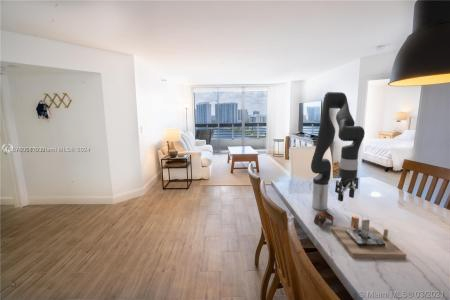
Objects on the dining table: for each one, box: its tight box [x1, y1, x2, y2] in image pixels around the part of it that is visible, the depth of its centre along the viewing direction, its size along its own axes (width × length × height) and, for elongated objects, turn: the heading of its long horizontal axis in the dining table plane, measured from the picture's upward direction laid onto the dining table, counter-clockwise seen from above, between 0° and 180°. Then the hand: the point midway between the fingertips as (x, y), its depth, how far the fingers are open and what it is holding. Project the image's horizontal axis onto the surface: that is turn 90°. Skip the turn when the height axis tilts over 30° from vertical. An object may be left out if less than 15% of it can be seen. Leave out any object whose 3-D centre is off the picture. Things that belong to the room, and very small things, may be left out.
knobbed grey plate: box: [346, 215, 385, 246], centre depth 102 cm, size 16×12×7 cm
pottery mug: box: [313, 210, 335, 226], centre depth 119 cm, size 12×10×8 cm
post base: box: [330, 217, 407, 260], centre depth 100 cm, size 22×22×12 cm
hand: (346, 199), depth 104 cm, fingers open, 8 cm apart
